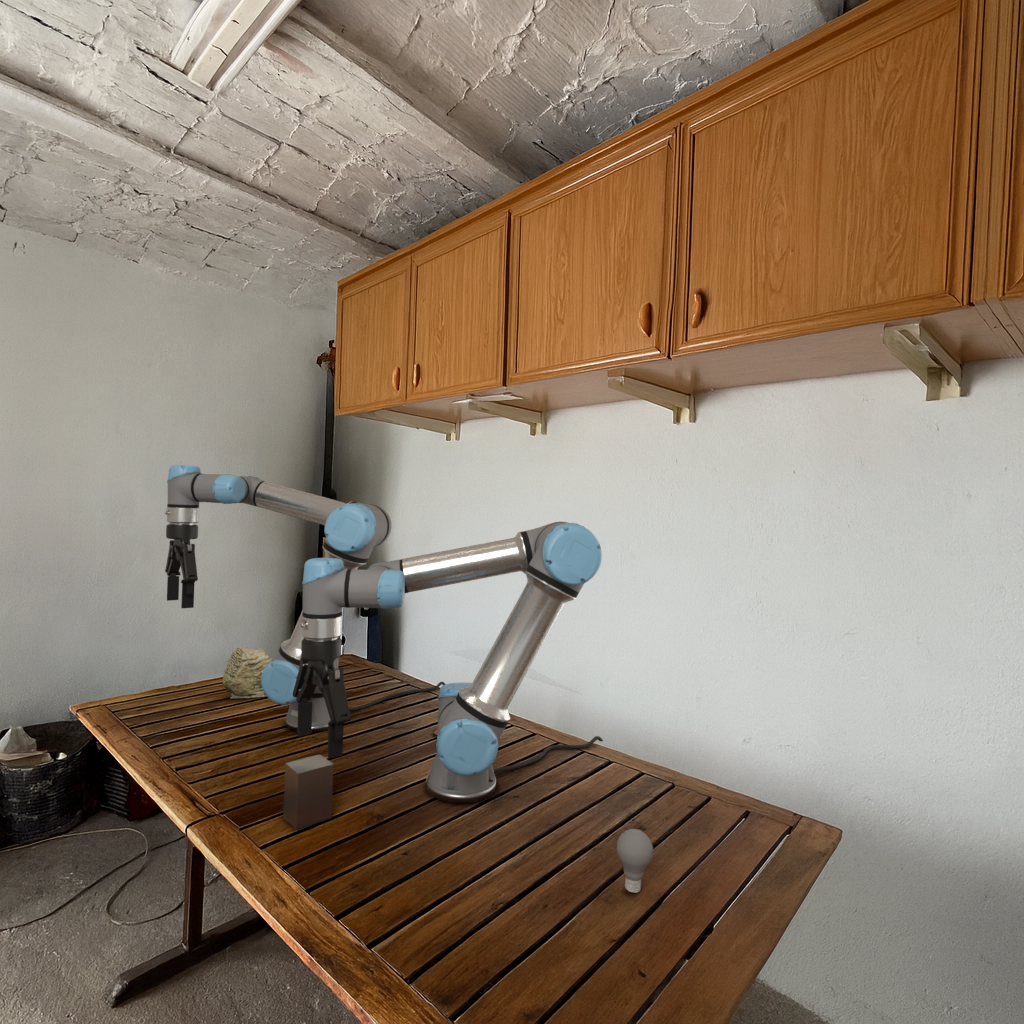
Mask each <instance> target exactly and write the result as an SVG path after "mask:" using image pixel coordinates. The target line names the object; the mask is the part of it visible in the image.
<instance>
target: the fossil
mask: <svg viewBox="0 0 1024 1024" xmlns="http://www.w3.org/2000/svg"><path fill="white" fill-rule="evenodd" d="M272 661H274V660H273V659H272V658H271V657H270V656H269V655H268V654H267V653H266V652H265V650H264V649H263V648H260V647H258V648H251V647H247V646H246V647H245V646H238V647H237V648H236V649H235V650H233V651H232V653H231V656H230V657H229V659H228V660H227V663H226V666H225V668H224V671H223V675H222V676H223V677H222V685H223V687H224V688H225V690H226V691H228V693H229V698H230V699H250V698H264V697H267V696H266V695H265V693H264V690H263V688H262V686H261V675H262V672H263V670H264V668H265V667H266V666H267V665H268V664H269V663H270V662H272Z"/></svg>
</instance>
